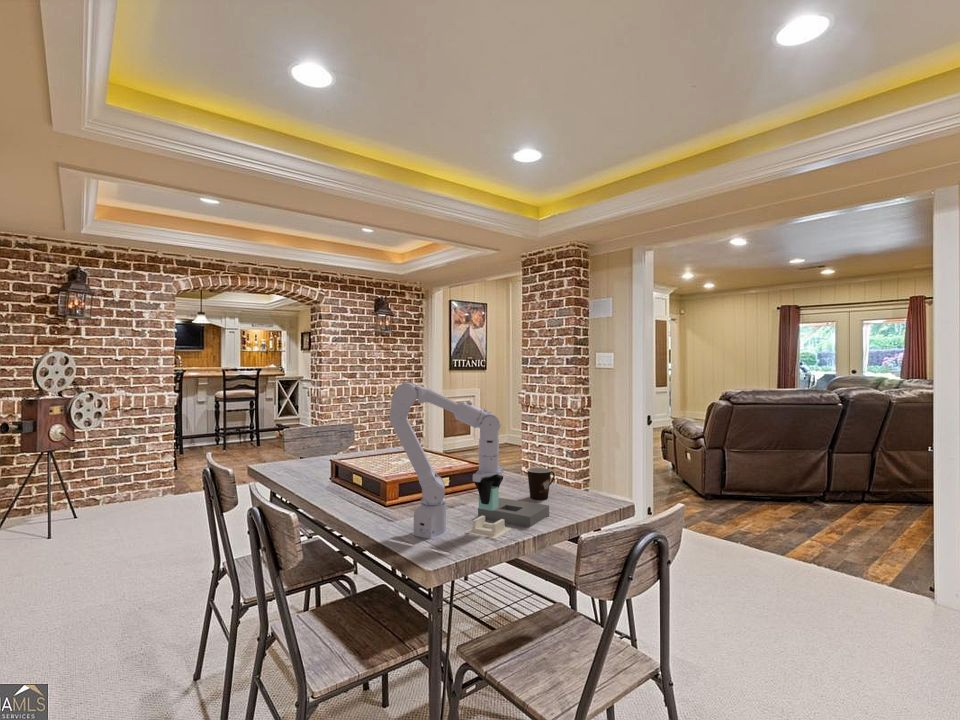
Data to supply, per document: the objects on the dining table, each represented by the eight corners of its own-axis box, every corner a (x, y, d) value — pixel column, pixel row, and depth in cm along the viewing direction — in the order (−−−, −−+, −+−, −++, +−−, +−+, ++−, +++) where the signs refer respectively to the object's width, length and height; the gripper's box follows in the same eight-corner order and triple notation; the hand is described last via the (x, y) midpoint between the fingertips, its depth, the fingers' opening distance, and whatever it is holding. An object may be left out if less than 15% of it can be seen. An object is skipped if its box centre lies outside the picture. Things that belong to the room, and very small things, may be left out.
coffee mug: (531, 501, 182) (531, 473, 182) (523, 495, 191) (524, 468, 191) (562, 499, 185) (562, 471, 185) (553, 493, 193) (553, 466, 193)
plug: (492, 510, 147) (492, 489, 147) (478, 508, 149) (478, 487, 149) (498, 507, 150) (498, 487, 150) (484, 505, 152) (485, 485, 152)
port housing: (530, 528, 153) (530, 516, 153) (477, 518, 162) (477, 507, 162) (549, 516, 165) (549, 505, 165) (499, 508, 174) (499, 497, 174)
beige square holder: (495, 540, 143) (495, 527, 143) (464, 533, 148) (464, 521, 148) (511, 530, 152) (512, 518, 152) (482, 524, 157) (482, 512, 157)
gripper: (488, 460, 142) (488, 510, 142) (512, 452, 154) (512, 498, 154) (466, 457, 145) (466, 506, 145) (492, 450, 158) (491, 495, 158)
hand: (488, 502), depth 150 cm, fingers closed on plug, 3 cm apart
